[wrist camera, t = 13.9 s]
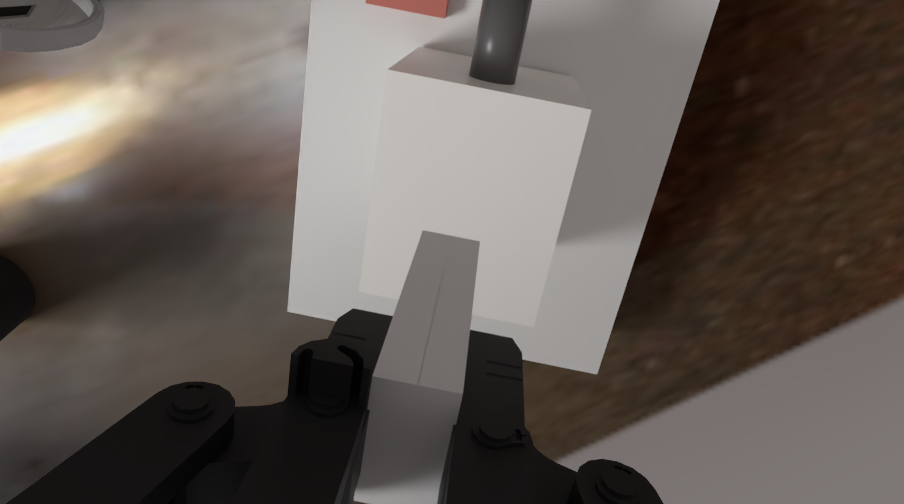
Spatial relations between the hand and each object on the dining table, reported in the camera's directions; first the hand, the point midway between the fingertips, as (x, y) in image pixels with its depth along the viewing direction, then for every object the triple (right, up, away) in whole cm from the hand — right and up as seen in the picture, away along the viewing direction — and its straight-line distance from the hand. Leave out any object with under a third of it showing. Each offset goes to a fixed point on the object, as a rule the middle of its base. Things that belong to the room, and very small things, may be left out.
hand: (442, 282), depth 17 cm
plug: (+2, +8, +14) cm, 17 cm away
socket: (+2, +7, +15) cm, 17 cm away
